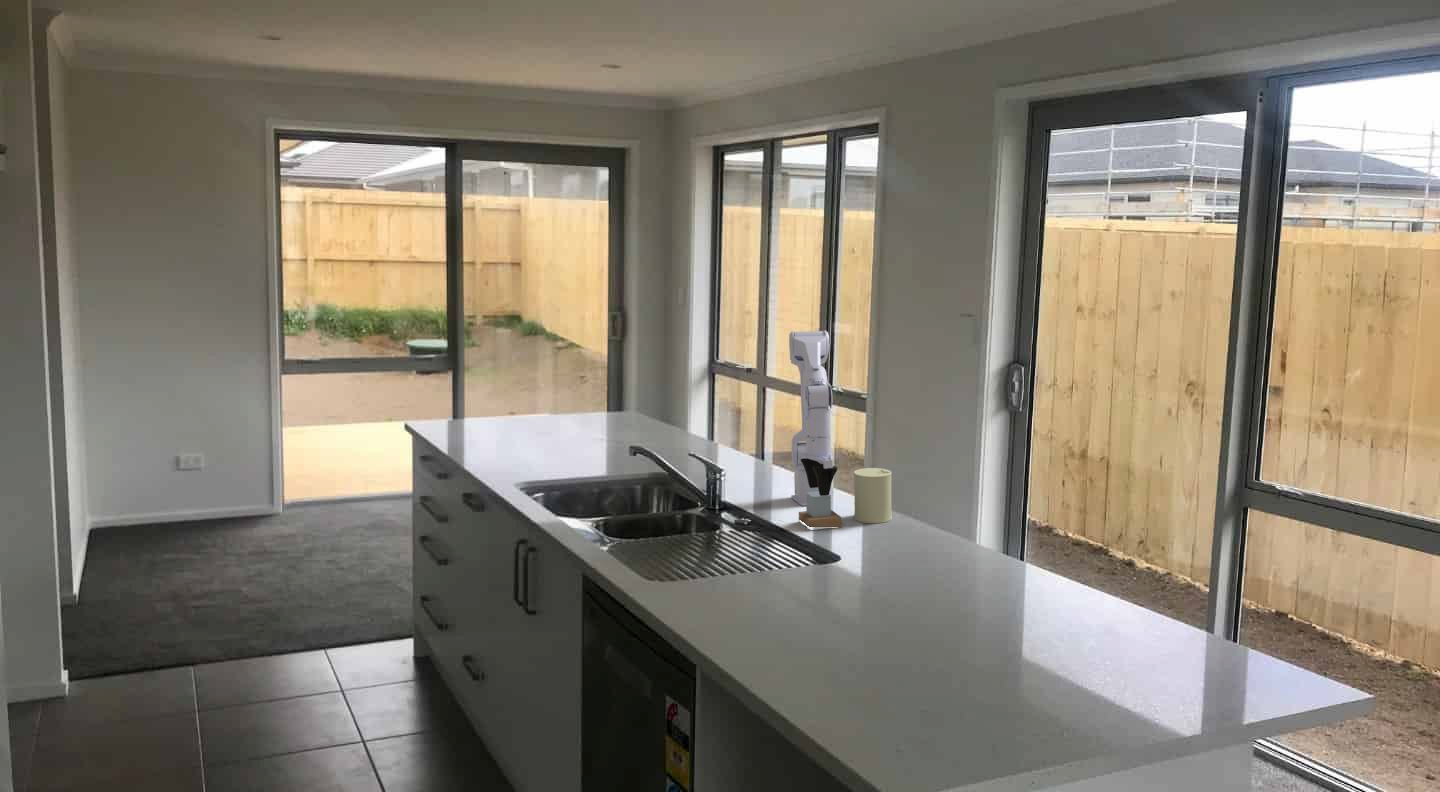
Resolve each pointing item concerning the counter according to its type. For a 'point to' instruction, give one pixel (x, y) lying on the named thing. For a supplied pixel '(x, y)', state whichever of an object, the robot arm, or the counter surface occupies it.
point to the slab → (821, 520)
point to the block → (818, 504)
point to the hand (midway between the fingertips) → (819, 491)
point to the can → (872, 495)
